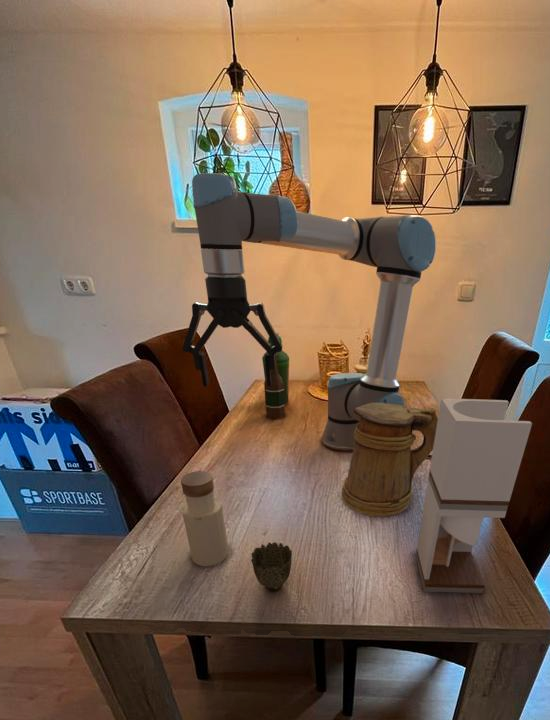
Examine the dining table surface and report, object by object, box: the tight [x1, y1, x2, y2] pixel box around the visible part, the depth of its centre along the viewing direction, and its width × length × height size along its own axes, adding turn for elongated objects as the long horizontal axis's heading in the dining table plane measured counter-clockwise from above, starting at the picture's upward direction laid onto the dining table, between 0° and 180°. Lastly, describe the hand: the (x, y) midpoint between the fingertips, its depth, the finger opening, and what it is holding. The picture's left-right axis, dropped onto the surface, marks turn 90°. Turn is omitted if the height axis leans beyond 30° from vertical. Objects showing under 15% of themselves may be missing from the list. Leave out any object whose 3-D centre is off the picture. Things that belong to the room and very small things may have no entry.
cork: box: [180, 470, 215, 497], centre depth 76 cm, size 6×6×6 cm
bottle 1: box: [181, 490, 229, 567], centre depth 79 cm, size 7×7×16 cm
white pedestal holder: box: [415, 397, 533, 594], centre depth 72 cm, size 11×11×35 cm
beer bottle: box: [263, 353, 286, 420], centre depth 148 cm, size 8×8×24 cm
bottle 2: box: [261, 332, 290, 405], centre depth 160 cm, size 11×11×28 cm
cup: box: [251, 541, 293, 593], centre depth 74 cm, size 8×7×8 cm
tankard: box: [340, 403, 438, 517], centre depth 99 cm, size 18×24×25 cm
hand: (238, 384), depth 87 cm, fingers open, 13 cm apart
